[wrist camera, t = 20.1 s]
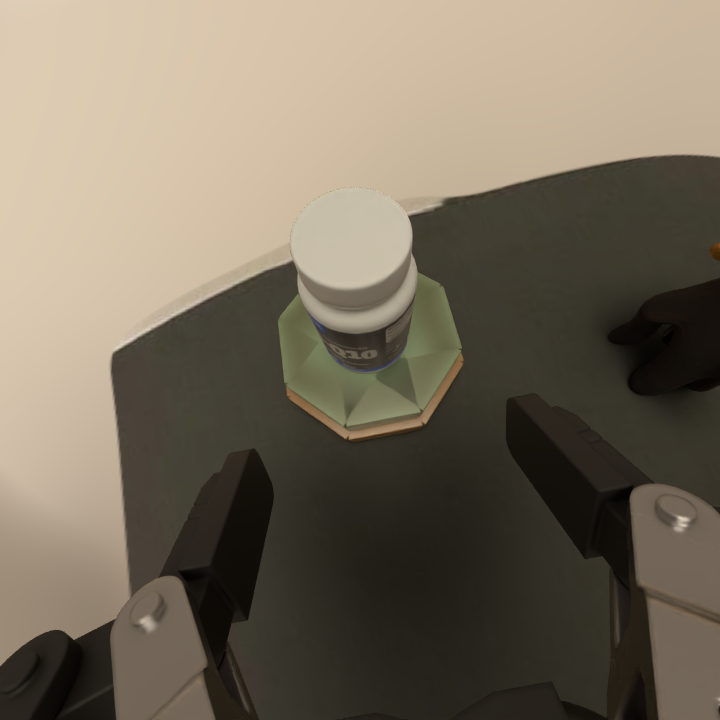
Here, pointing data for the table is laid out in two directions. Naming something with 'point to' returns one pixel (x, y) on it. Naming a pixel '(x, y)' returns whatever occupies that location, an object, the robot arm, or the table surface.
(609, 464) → the robot arm
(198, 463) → the table surface
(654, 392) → the figurine
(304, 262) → the pill bottle
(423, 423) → the ring stack
